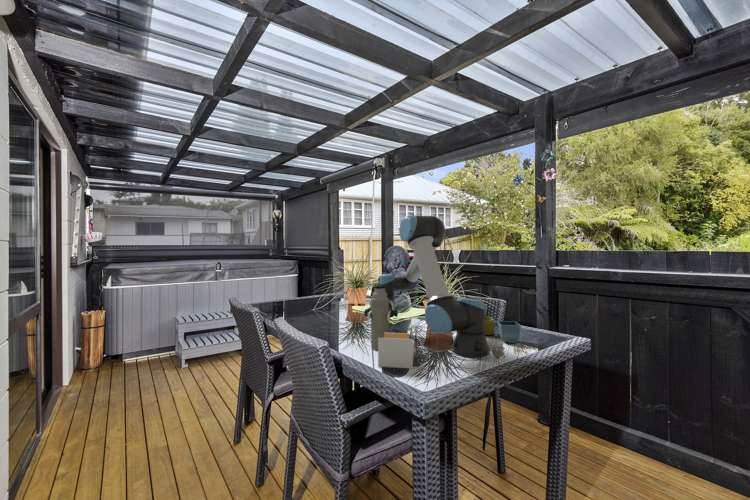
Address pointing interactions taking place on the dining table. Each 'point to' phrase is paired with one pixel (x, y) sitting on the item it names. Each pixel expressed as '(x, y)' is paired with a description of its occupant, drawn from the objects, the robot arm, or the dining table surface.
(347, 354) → the dining table surface
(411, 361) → the white open box
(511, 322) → the flower pot
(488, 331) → the mug
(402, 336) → the pusher
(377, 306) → the thermos bottle
